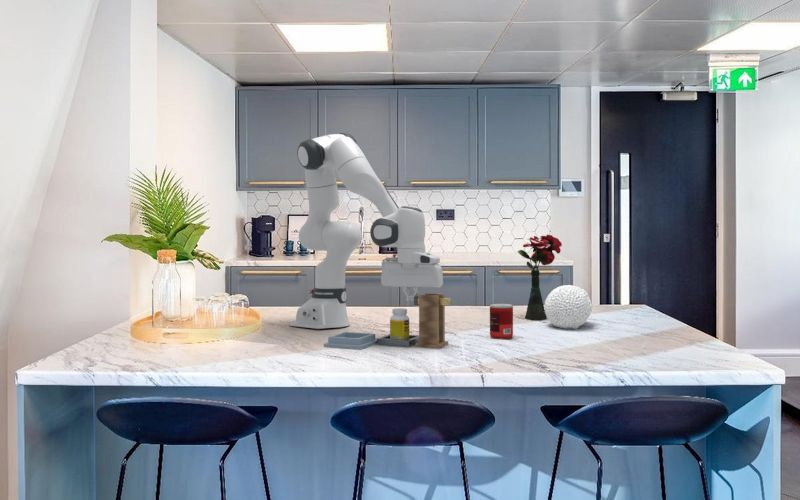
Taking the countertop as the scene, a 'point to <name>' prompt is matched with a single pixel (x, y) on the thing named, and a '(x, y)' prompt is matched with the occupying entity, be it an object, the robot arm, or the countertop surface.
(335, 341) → the tray
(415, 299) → the bar
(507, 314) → the canned food
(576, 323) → the white textured ball
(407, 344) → the socket
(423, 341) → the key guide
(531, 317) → the carnation
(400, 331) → the pill bottle
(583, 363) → the countertop surface
